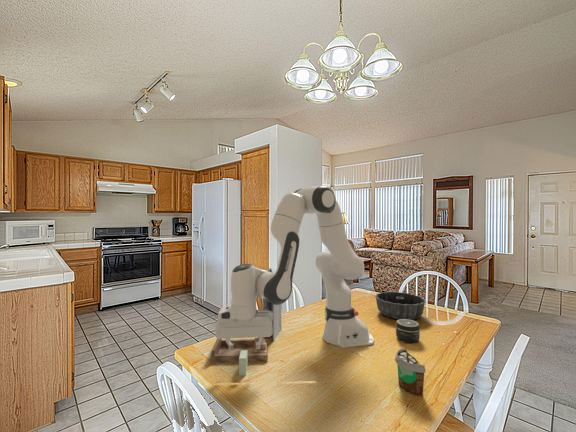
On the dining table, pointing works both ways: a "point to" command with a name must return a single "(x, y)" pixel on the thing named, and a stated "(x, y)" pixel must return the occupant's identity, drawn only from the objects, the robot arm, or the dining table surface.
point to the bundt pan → (400, 305)
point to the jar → (407, 331)
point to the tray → (236, 351)
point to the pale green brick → (243, 362)
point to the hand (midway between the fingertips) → (244, 348)
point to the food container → (410, 373)
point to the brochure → (276, 314)
